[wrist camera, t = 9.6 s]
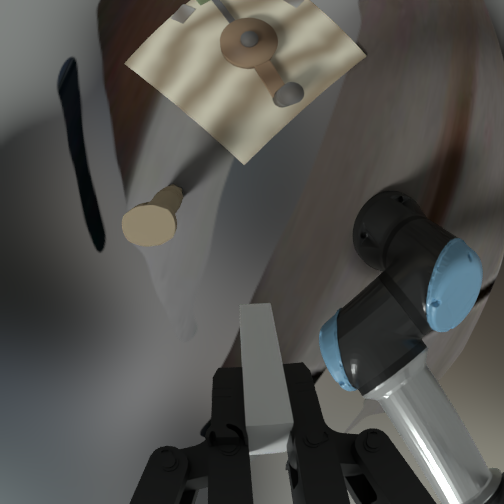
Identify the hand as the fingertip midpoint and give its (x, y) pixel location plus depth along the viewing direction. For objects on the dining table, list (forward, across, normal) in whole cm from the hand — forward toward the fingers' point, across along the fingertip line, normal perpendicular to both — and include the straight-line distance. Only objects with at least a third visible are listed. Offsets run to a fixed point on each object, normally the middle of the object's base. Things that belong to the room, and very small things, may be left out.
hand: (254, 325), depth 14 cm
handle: (+33, -11, -1) cm, 34 cm away
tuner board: (+32, +1, +23) cm, 40 cm away
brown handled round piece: (+31, +1, +24) cm, 39 cm away
